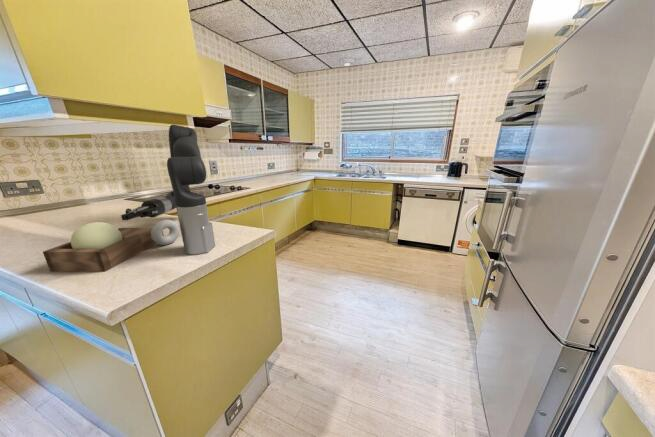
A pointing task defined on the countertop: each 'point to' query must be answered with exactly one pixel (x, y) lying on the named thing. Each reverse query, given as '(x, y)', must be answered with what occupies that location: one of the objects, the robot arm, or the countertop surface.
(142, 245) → the wooden serving tray
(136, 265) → the countertop surface
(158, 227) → the donut
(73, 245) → the melon
